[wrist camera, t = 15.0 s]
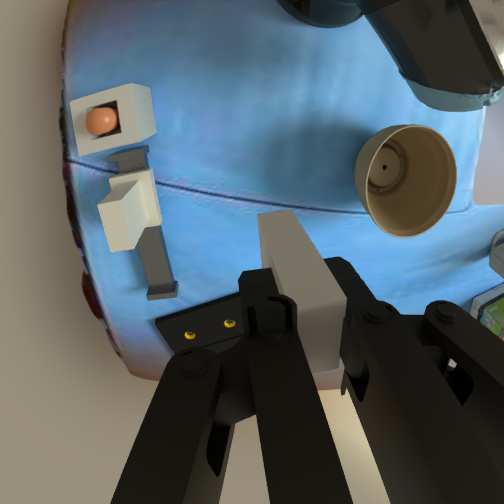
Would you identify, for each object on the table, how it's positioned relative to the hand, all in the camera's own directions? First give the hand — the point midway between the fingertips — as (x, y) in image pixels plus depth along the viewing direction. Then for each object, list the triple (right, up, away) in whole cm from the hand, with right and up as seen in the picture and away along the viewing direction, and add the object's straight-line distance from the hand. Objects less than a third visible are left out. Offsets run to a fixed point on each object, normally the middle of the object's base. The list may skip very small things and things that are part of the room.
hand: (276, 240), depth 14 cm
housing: (-19, +19, +25) cm, 36 cm away
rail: (-17, +4, +33) cm, 37 cm away
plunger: (-18, +16, +19) cm, 31 cm away
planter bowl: (+20, +14, +32) cm, 40 cm away
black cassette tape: (-9, -14, +44) cm, 47 cm away
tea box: (+64, -14, +52) cm, 84 cm away
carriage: (-18, +7, +28) cm, 34 cm away
